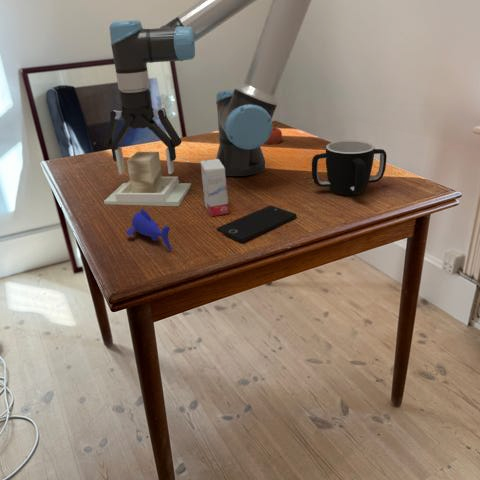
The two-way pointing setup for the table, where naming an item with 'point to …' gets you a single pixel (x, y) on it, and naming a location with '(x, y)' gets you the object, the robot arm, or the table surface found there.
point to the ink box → (214, 187)
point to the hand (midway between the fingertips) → (146, 172)
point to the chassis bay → (151, 194)
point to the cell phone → (256, 223)
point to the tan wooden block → (145, 172)
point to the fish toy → (148, 227)
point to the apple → (274, 136)
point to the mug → (349, 166)
